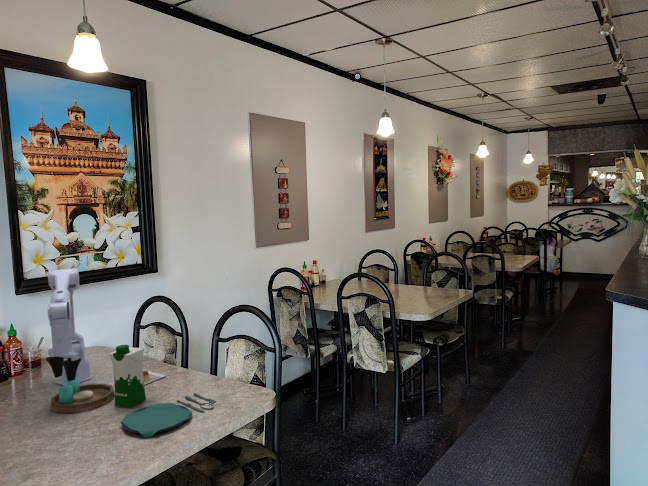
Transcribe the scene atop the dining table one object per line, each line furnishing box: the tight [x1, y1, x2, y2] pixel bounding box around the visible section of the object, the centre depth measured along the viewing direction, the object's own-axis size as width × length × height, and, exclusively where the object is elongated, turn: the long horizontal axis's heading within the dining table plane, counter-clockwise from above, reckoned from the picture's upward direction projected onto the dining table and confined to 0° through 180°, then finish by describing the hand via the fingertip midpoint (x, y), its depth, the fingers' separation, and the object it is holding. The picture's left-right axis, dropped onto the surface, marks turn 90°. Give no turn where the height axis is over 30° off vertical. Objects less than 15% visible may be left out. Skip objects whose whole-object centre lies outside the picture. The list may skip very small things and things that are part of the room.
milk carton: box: [109, 344, 147, 409], centre depth 160 cm, size 9×9×20 cm
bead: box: [58, 385, 73, 405], centre depth 158 cm, size 4×4×6 cm
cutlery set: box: [119, 392, 217, 439], centre depth 149 cm, size 20×30×2 cm, turn 140°
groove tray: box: [50, 383, 115, 415], centre depth 163 cm, size 20×20×2 cm
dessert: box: [143, 367, 168, 386], centre depth 183 cm, size 12×12×5 cm
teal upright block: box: [66, 377, 80, 395], centre depth 166 cm, size 4×4×6 cm
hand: (64, 378), depth 158 cm, fingers open, 7 cm apart
